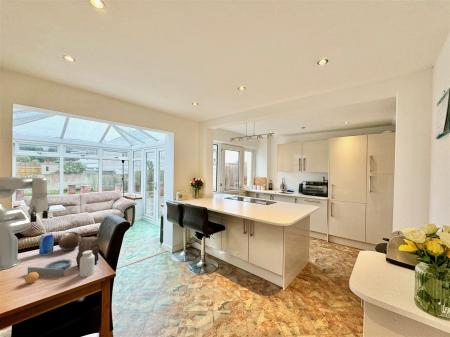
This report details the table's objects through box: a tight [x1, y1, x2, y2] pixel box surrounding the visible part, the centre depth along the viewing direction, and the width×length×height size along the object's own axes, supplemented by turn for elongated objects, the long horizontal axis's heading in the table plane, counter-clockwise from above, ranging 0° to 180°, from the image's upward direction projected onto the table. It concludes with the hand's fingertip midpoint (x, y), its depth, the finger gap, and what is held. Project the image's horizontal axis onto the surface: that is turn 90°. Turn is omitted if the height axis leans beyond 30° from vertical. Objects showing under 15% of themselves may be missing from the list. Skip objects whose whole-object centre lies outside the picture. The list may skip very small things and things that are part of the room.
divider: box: [27, 266, 64, 278], centre depth 123 cm, size 24×1×4 cm, turn 86°
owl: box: [75, 235, 100, 271], centre depth 137 cm, size 13×13×20 cm
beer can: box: [38, 232, 55, 256], centre depth 153 cm, size 8×8×16 cm
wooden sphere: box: [58, 231, 82, 251], centre depth 161 cm, size 15×15×15 cm
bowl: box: [43, 259, 73, 271], centre depth 132 cm, size 14×14×2 cm
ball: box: [24, 272, 40, 284], centre depth 115 cm, size 6×6×6 cm
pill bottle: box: [79, 250, 95, 278], centre depth 125 cm, size 8×8×15 cm
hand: (39, 220), depth 130 cm, fingers open, 9 cm apart
